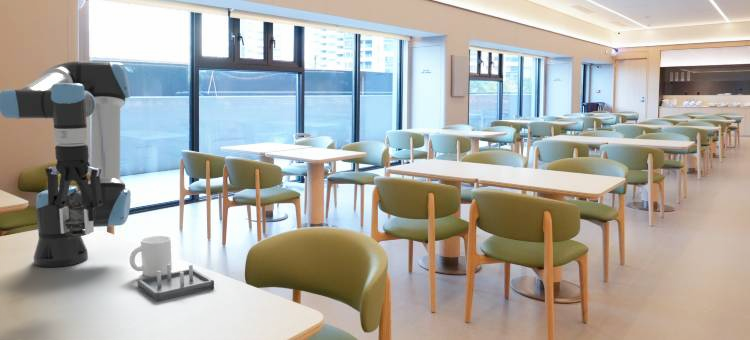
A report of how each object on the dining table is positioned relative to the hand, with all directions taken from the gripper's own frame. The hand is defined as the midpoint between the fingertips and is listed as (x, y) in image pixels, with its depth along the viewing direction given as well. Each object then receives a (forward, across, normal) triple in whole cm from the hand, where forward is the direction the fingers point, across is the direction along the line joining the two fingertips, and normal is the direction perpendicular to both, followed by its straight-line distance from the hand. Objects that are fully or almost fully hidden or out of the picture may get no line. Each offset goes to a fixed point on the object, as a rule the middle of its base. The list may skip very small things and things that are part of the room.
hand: (77, 232), depth 154 cm
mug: (+18, +10, +19) cm, 28 cm away
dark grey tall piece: (+1, 0, 0) cm, 1 cm away
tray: (+17, +22, +9) cm, 29 cm away
